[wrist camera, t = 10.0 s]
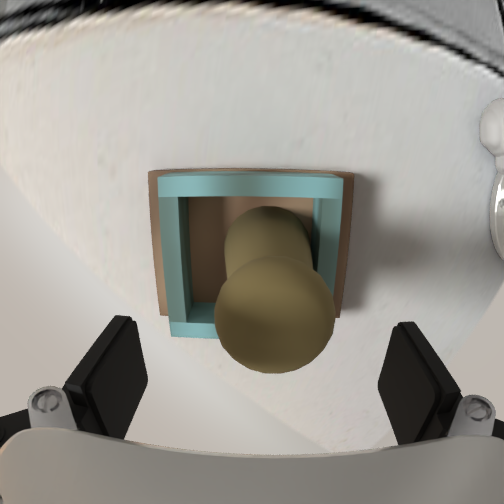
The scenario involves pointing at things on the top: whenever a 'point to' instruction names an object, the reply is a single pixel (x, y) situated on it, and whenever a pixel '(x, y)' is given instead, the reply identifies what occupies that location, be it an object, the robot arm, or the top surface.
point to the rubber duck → (494, 131)
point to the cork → (272, 294)
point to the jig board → (221, 218)
